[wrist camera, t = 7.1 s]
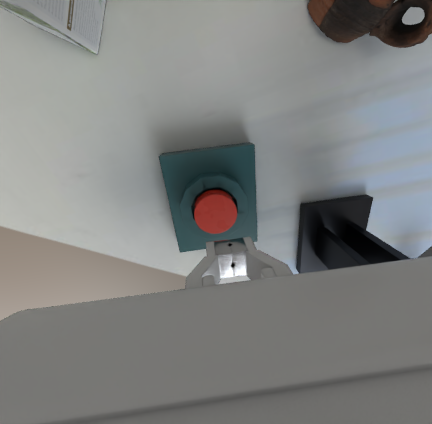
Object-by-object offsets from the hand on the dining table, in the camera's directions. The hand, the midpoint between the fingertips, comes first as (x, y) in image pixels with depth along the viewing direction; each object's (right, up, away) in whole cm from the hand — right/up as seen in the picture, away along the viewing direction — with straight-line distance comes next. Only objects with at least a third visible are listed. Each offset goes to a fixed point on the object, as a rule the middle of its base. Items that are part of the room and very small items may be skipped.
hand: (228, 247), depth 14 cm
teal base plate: (-1, +4, +12) cm, 13 cm away
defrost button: (-1, +3, +9) cm, 9 cm away
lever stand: (+15, -1, +16) cm, 22 cm away
